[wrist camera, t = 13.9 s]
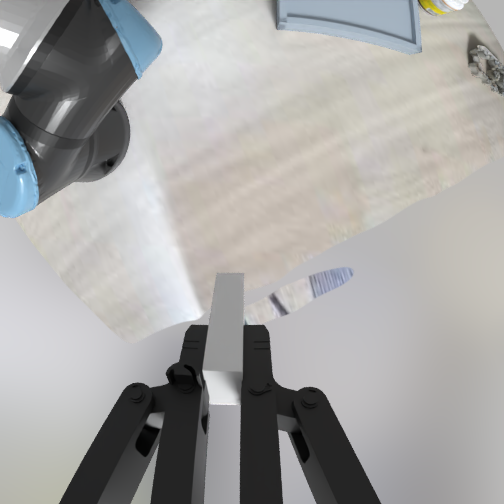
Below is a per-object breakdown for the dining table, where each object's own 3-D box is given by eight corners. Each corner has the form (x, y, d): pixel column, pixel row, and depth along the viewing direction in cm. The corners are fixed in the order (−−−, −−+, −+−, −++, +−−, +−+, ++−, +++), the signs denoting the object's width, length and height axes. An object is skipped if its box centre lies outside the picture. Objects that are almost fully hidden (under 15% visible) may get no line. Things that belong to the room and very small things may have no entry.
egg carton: (465, 70, 30) (478, 71, 26) (469, 42, 26) (482, 41, 23) (496, 98, 31) (508, 101, 28) (500, 71, 28) (512, 72, 24)
